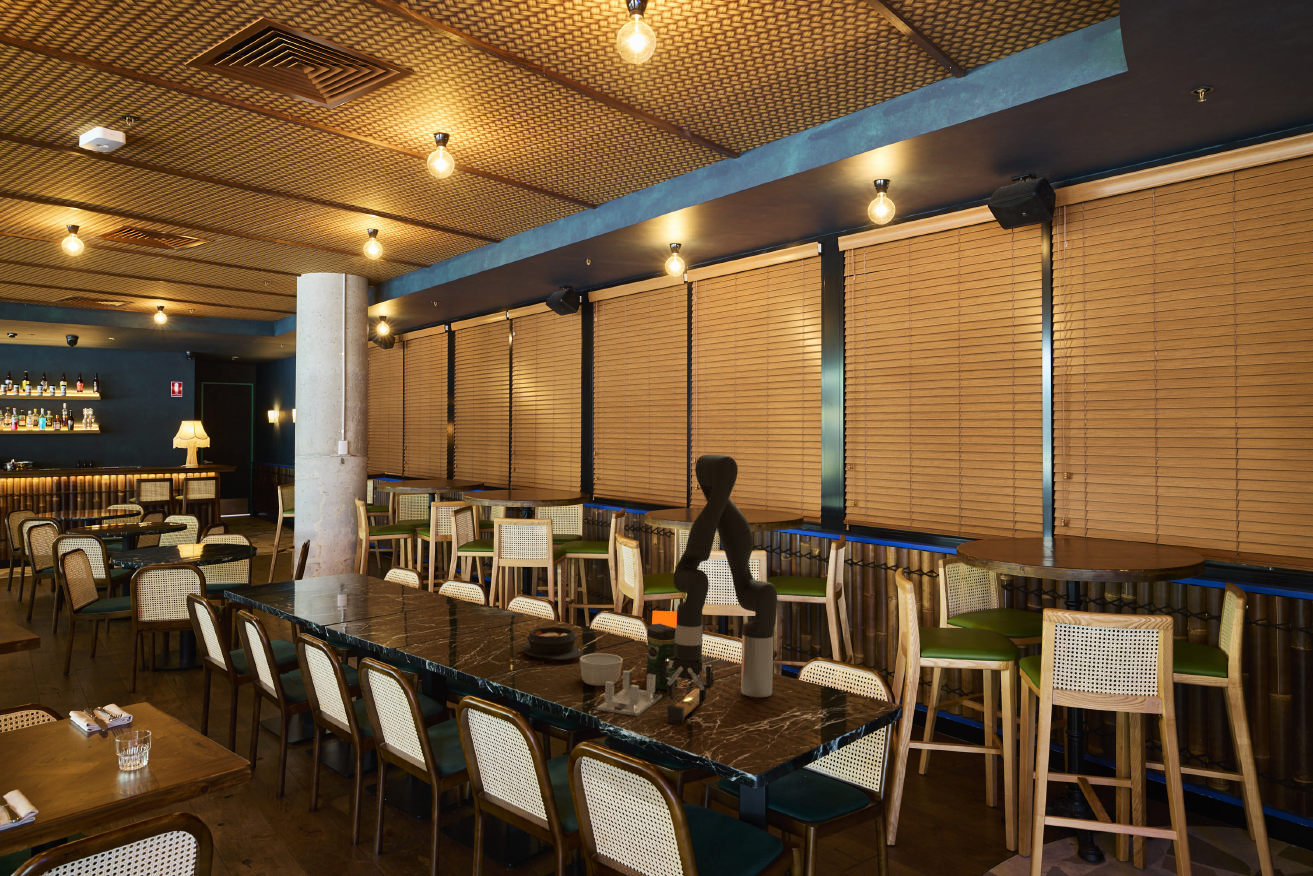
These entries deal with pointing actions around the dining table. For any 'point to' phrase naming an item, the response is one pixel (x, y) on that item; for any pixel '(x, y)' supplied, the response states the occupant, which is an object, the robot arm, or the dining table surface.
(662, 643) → the coffee jar
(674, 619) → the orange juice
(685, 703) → the tube
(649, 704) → the white holder rack
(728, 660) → the dining table surface
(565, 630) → the casserole
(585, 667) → the ramekin
